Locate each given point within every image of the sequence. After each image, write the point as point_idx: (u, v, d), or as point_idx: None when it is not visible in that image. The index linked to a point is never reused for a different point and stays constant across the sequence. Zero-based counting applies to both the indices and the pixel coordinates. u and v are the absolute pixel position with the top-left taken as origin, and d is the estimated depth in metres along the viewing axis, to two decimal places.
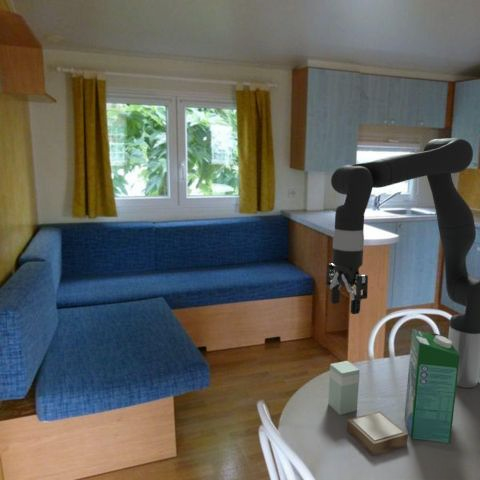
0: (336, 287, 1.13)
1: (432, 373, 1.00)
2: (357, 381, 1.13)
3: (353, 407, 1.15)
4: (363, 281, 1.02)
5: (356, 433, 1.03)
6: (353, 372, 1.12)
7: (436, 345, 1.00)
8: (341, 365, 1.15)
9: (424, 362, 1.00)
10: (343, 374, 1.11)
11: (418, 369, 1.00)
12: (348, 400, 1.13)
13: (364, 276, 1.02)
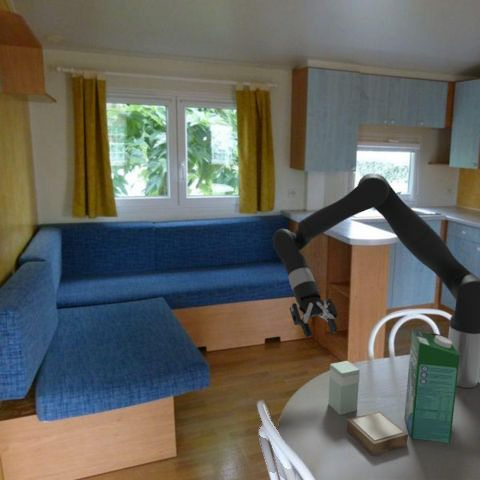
0: (328, 319, 1.27)
1: (432, 373, 1.00)
2: (357, 381, 1.13)
3: (353, 407, 1.15)
4: (292, 309, 1.25)
5: (356, 433, 1.03)
6: (353, 372, 1.12)
7: (436, 345, 1.00)
8: (341, 365, 1.15)
9: (424, 362, 1.00)
10: (343, 374, 1.11)
11: (418, 369, 1.00)
12: (348, 400, 1.13)
13: (292, 305, 1.25)
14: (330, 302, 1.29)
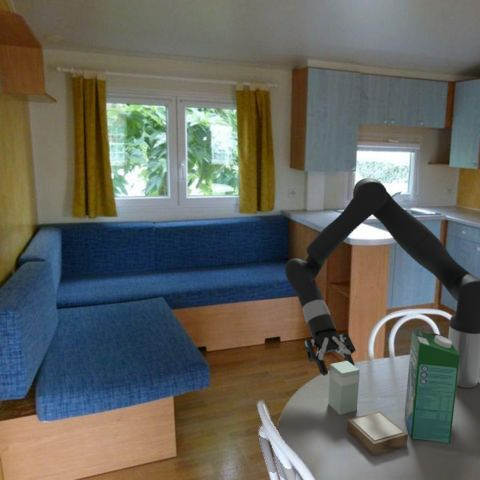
0: (345, 354, 1.21)
1: (432, 373, 1.00)
2: (357, 381, 1.13)
3: (353, 407, 1.15)
4: (306, 345, 1.19)
5: (356, 433, 1.03)
6: (353, 372, 1.12)
7: (436, 345, 1.00)
8: (341, 365, 1.15)
9: (424, 362, 1.00)
10: (343, 374, 1.11)
11: (418, 369, 1.00)
12: (348, 400, 1.13)
13: (306, 340, 1.20)
14: (347, 336, 1.23)
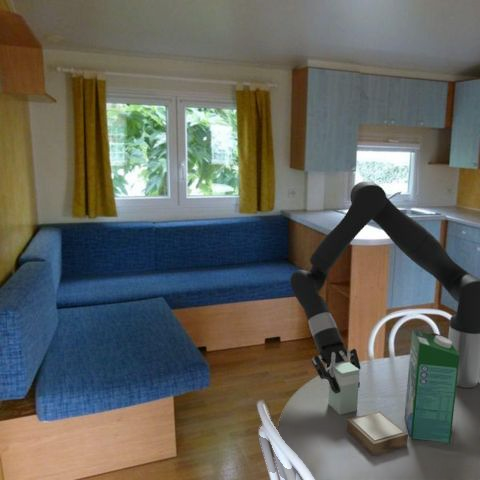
0: None
1: (432, 373, 1.00)
2: (357, 381, 1.13)
3: (353, 407, 1.15)
4: (315, 362, 1.16)
5: (356, 433, 1.03)
6: (353, 372, 1.12)
7: (436, 345, 1.00)
8: (341, 365, 1.15)
9: (424, 362, 1.00)
10: (343, 374, 1.11)
11: (418, 369, 1.00)
12: (348, 400, 1.13)
13: (314, 358, 1.16)
14: (354, 353, 1.20)
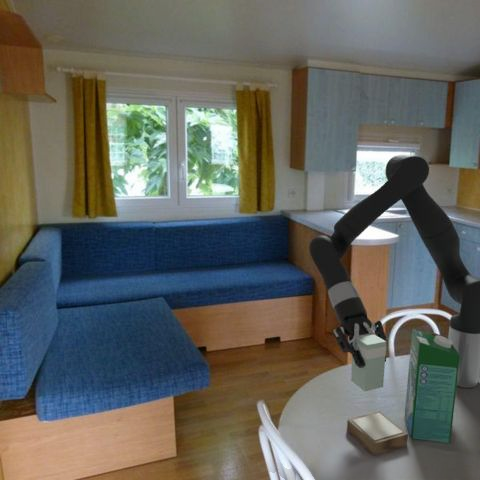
0: None
1: (432, 373, 1.00)
2: (384, 354, 1.03)
3: (379, 383, 1.04)
4: (336, 335, 1.06)
5: (356, 433, 1.03)
6: (379, 344, 1.02)
7: (436, 345, 1.00)
8: (365, 337, 1.05)
9: (424, 362, 1.00)
10: (368, 346, 1.01)
11: (418, 369, 1.00)
12: (374, 375, 1.03)
13: (335, 329, 1.06)
14: (379, 325, 1.09)
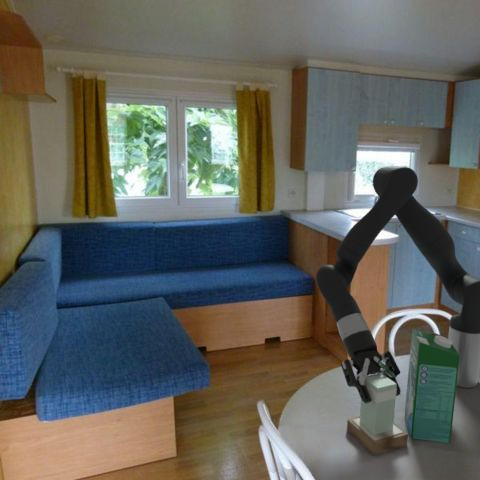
0: (389, 377, 1.04)
1: (432, 373, 1.00)
2: (394, 397, 1.00)
3: (389, 426, 1.01)
4: (344, 367, 1.03)
5: (356, 433, 1.03)
6: (390, 387, 0.99)
7: (436, 345, 1.00)
8: (375, 378, 1.02)
9: (424, 362, 1.00)
10: (379, 389, 0.98)
11: (418, 369, 1.00)
12: (384, 418, 1.00)
13: (344, 361, 1.03)
14: (389, 356, 1.07)
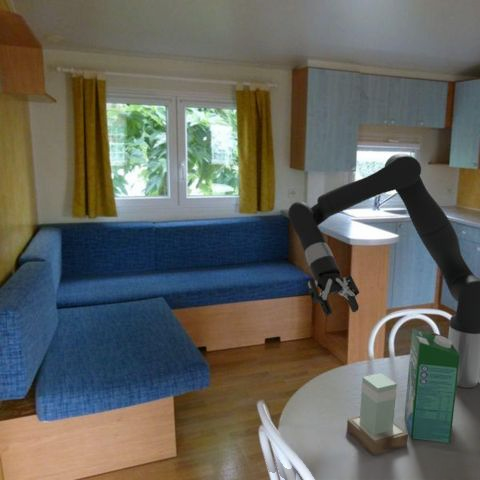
0: (349, 296, 1.18)
1: (432, 373, 1.00)
2: (394, 397, 1.00)
3: (389, 426, 1.01)
4: (309, 286, 1.16)
5: (356, 433, 1.03)
6: (390, 387, 0.99)
7: (436, 345, 1.00)
8: (375, 378, 1.02)
9: (424, 362, 1.00)
10: (379, 389, 0.98)
11: (418, 369, 1.00)
12: (384, 418, 1.00)
13: (310, 281, 1.16)
14: (350, 279, 1.20)
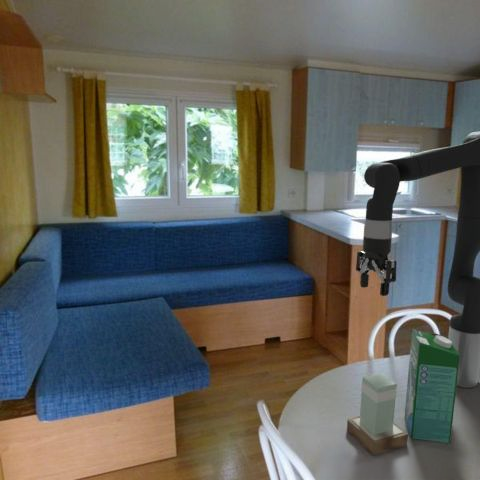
0: (365, 272, 1.24)
1: (432, 373, 1.00)
2: (394, 397, 1.00)
3: (389, 426, 1.01)
4: (392, 266, 1.13)
5: (356, 433, 1.03)
6: (390, 387, 0.99)
7: (436, 345, 1.00)
8: (375, 378, 1.02)
9: (424, 362, 1.00)
10: (379, 389, 0.98)
11: (418, 369, 1.00)
12: (384, 418, 1.00)
13: (393, 261, 1.14)
14: None
